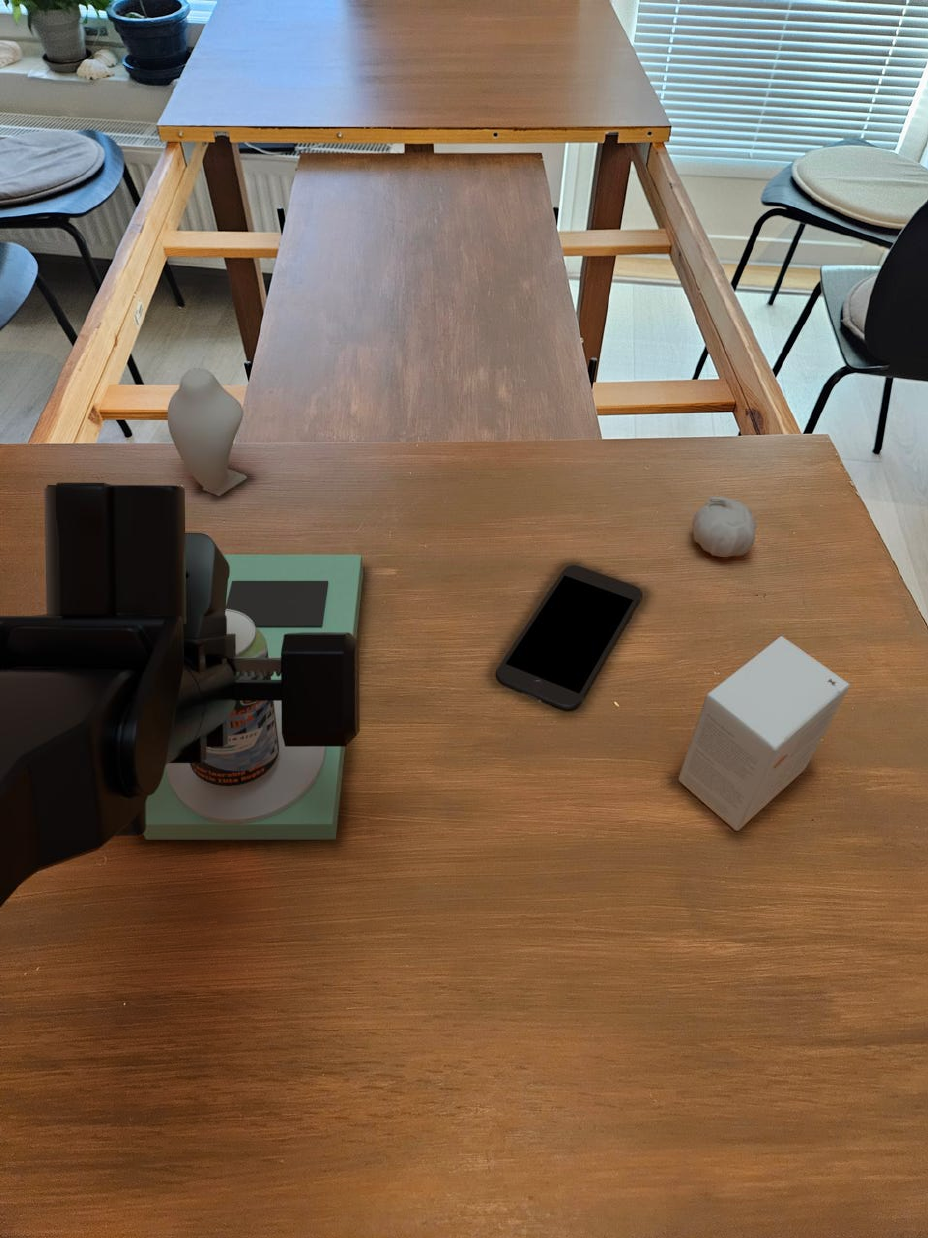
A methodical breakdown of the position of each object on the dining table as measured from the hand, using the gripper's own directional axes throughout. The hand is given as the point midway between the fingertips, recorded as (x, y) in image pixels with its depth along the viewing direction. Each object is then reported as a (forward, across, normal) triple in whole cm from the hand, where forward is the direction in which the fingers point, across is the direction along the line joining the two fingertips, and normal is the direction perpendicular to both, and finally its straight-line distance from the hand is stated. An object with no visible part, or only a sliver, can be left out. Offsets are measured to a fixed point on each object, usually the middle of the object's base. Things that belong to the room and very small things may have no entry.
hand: (228, 672), depth 58 cm
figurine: (+30, +8, -15) cm, 34 cm away
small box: (+6, -35, +8) cm, 37 cm away
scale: (+12, 0, +3) cm, 12 cm away
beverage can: (+4, 0, +6) cm, 8 cm away
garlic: (+23, -38, -9) cm, 46 cm away
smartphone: (+16, -24, -1) cm, 29 cm away
